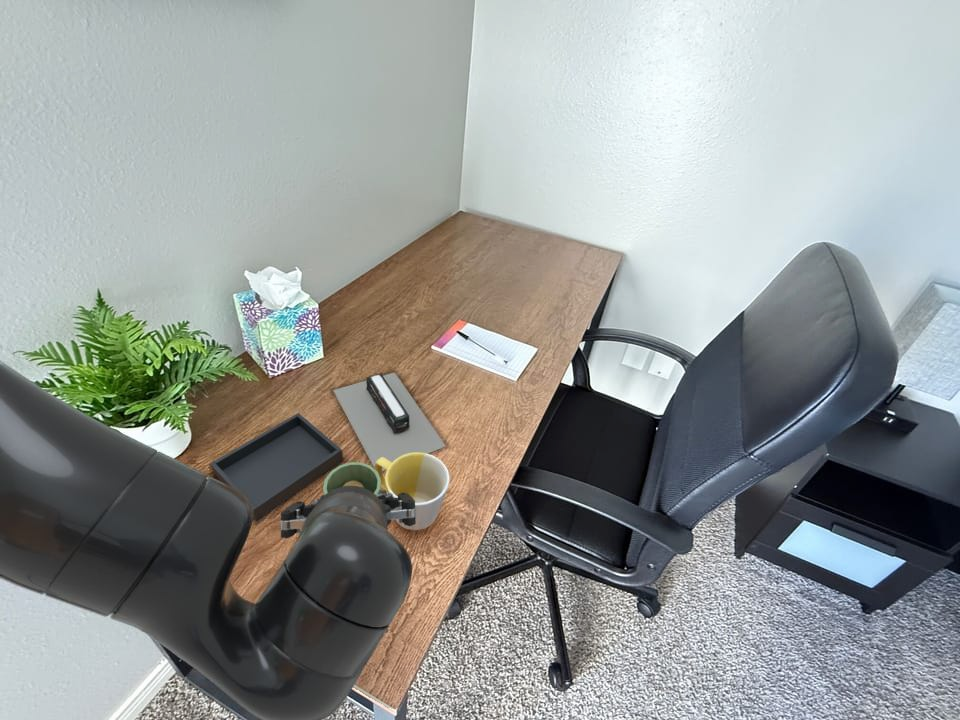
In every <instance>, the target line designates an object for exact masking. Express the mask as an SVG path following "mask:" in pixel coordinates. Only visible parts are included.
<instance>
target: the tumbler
mask: <svg viewBox="0 0 960 720" xmlns="http://www.w3.org/2000/svg"><path fill="white" fill-rule="evenodd" d="M352 480H355V481H359V482H360V483H362V484H363V486H364V488H365V489H367V490H369V491H371V492H372V493H374V494H381V490H382V488H381V478H380V476H379V474H378V472H377V471H376V470H375V468H374V466H373V465H370V464H367V463H364V462H362V461H361V462H360V461H358V462H357V461H355V462H353V461H351V462H346V463H343V464H339V465H338V466H337V467H334V469H331V470H330V471H329V472H328V474H327V476H326V477H325V478H324V481H323V487H322V493H323V494H322V495H326V494H327V493H328V492H330V491H332V490H334V489H336V488H339V487H342V486H343V485H344V484H345V483H346V482H348V481H352Z"/></svg>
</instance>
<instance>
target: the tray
mask: <svg viewBox="0 0 960 720" xmlns="http://www.w3.org/2000/svg"><path fill="white" fill-rule="evenodd" d="M343 461H344V455H343V449H342V448H341V447H339V446H338V445H337V444H336V443H335V442H334V441H333V440H331V439H330V438H329V437H328V436H326V435H325V434H324V433H323V432H322V431H321V430H320V429H318V428H317V427H316V426H314V425H313V423H311V422H310V421H309V420H308V419H307V418H305V417H304V416H303V415H302V414H301V413H299V412H297V413H296V414H294V415H292V416H290V417H288V418H287V419H285V420H283V421H282V422H279V423H278V424H276V425H274V426H273V427H271V428H269V429H267V430H266V431H264V432H262V433H260V434H259V435H257V436H255V437H253V438H252V439H250V440H248V441H246V442H245V443H243V444H241V445H240V446H237V447H236V448H234V449H232V450H230V451H229V452H227V453H225V454H224V455H222V456H220V457H218V458H217V459H215V460H213V461H211V462H210V463H209V466H210V468H211V471H212V474H213V476H214V477H215V478H216V480H218V481H220V482H223V483H225V484H226V485H228V486H230V487H232V488H234V489H236V490H237V491H239V492H240V493H242V494H243V495H245V496H246V497H247V498H248V499H249V500H250V502H251V504H252V506H253V510H254V517H253V520H255V521H256V522H258V521H259V520H260V519H262V518H263V517H265V516H266V515H267V514H269V513H270V512H271V511H273V510H275V509H276V508H277V507H279V506H280V505H282V504H283V503H285V502H286V501H288V500H289V499H290V498H292V497H293V496H294V495H296V494H297V493H299V492H300V491H302V490H303V489H304V488H306V487H307V486H309V485H310V484H312V483H313V482H315V481H316V480H317V479H319V478H321V477H322V476H323V475H325V474H326V473H328V472H330V471H331V470H333V468H336V466H337V465H340V463H342V462H343Z"/></svg>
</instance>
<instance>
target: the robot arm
mask: <svg viewBox="0 0 960 720" xmlns="http://www.w3.org/2000/svg"><path fill="white" fill-rule="evenodd" d="M207 476H208V475H207V474H206V473H204V472H202V471H200V470H198V469H197V468H194V467H192V466H190V465H187V464H186V463H184V462H182V461H180V460H178V459H176V458H173V457H172V456H170V455H167V454H166V453H164V452H162V451H158V449H156V448H154V447H151V446H149V445H147V444H145V443H143V442H141V441H139V440H137V439H135V438H133V437H131V436H130V435H129V436H128V435H127V434H124V433H123V432H120V431H119V430H118V429H115V428H113V427H111V426H109V425H107V424H106V423H104V422H102V421H100V420H98V419H96V418H94V417H92V416H90V415H88V414H87V413H85V412H83V411H82V410H80V409H78V408H76V407H75V406H72V405H71V404H69V403H67V402H65V401H64V400H62V399H60V398H58V397H57V396H55V395H53V394H52V393H50V392H48V391H47V390H46V389H44V388H43V387H41V386H39V385H38V384H36V383H35V382H33V381H32V380H30V379H29V378H28V377H26V376H24V375H23V374H22V373H20V372H18V371H17V370H15V369H14V368H13V367H11V366H10V365H8V364H6V363H5V362H4V361H2V360H1V359H0V580H3V581H4V582H7V583H9V584H11V585H14V586H16V587H19V588H21V589H24V590H27V591H30V592H33V593H35V594H38V595H42V596H43V595H44V596H45V597H47V598H50V599H53V600H55V601H59V602H62V603H64V604H67V605H70V606H73V607H75V608H78V609H81V610H84V611H86V612H89V613H93V614H95V615H98V616H101V617H104V618H107V617H109V618H110V619H111V620H113V621H116V622H119V623H122V624H125V625H127V626H130V627H132V628H134V629H137V630H138V631H140V632H143V633H144V634H145V635H147V636H149V637H150V638H151V639H153V640H154V641H155V642H157V643H159V644H160V645H162V647H164V648H165V649H167V650H169V651H170V652H171V653H172V654H174V655H175V656H176V657H178V658H180V659H181V660H182V661H183V662H185V663H186V664H187V665H189V666H191V667H192V668H193V669H195V670H196V671H198V673H200V674H201V675H202V676H204V677H205V678H206V679H208V680H209V681H210V682H212V683H213V684H214V685H215V686H216V687H218V689H220V690H221V691H222V692H224V693H225V695H227V696H228V697H230V698H231V699H232V700H233V701H234V702H235V703H236V704H238V705H239V706H240V707H241V708H243V709H244V710H246V711H247V712H248V713H250V714H251V715H253V716H254V717H255V718H257V719H259V720H324V719H326V718H328V717H329V716H331V715H333V714H334V713H335V712H337V710H338V709H339V708H340V707H341V706H342V705H343V703H344V702H345V700H346V699H347V698H348V696H349V694H350V693H351V692H352V690H353V688H354V686H355V684H356V683H357V681H358V680H359V678H360V676H361V675H362V673H363V671H364V669H365V668H366V666H367V664H368V663H369V661H370V659H371V657H372V655H373V654H374V652H375V650H376V649H377V647H378V645H379V643H381V641H382V639H383V637H384V635H385V634H386V632H387V631H388V628H389V627H390V625H391V624H392V622H393V620H394V618H395V617H396V616H397V613H398V612H399V610H400V608H401V606H402V605H403V603H404V601H405V599H406V597H407V594H408V591H409V589H410V586H411V581H412V577H413V576H412V575H413V563H412V559H411V556H410V554H409V552H408V550H407V549H406V547H405V546H404V544H403V543H402V542H401V541H400V540H399V539H398V538H397V537H396V535H394V534H393V533H392V532H390V531H389V530H388V529H389V527H388V526H390V525H391V523H392V521H396V519H399V523H404V525H408V526H412V525H414V524H416V518H415V500H414V499H413V498H412V497H411V496H410V495H409V494H408V493H405V492H403V493H401V494H398V498H394V497H393V494H392V493H387V492H386V490H383V489H381V494H374V493H372V492H371V491H369V490H367V489H365V488H363V487H359V486H343V487H339V488H336V489H334V490H332V491H330V492H328V493H327V494H326V495H324V494H322V495H321V496H320V497H319V498H314V499H312V500H310V504H307V505H306V502H305V501H302V500H298V501H296V502H293V503H292V504H290V505H289V506H288V507H286V508H285V509H284V510H282V511H281V512H280V538H282V539H290V538H291V537H293V536H294V535H296V534H299V535H298V537H297V539H296V540H295V542H294V543H293V546H292V547H291V549H290V550H289V551H288V553H287V555H286V556H285V559H284V560H283V561H282V562H281V564H280V565H279V567H278V569H277V570H276V571H275V573H274V574H273V576H272V578H271V579H270V580H269V582H268V584H267V585H266V586H265V588H264V589H263V591H262V592H261V594H260V596H258V599H257V600H256V602H252V601H250V600H247V599H246V598H244V597H243V596H241V595H240V594H239V593H238V591H237V590H236V589H235V588H234V586H233V584H232V582H231V579H232V575H233V573H234V570H235V567H236V566H237V563H238V561H239V558H240V556H241V554H242V552H243V550H244V547H245V545H246V543H247V540H248V538H249V535H250V532H251V529H252V526H253V522H254V518H253V517H254V510H253V506H252V504H251V502H250V500H249V499H248V498H247V497H246V496H245V495H243V494H242V493H240V492H239V491H237V490H236V489H234V488H232V487H230V486H228V485H226V484H225V483H223V482H220V481H219V480H218V479H217V478H214V477H212V476H208V477H207Z"/></svg>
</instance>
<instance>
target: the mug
mask: <svg viewBox="0 0 960 720" xmlns="http://www.w3.org/2000/svg"><path fill="white" fill-rule="evenodd" d="M382 468H384V469H385V475H383V471H382ZM374 469H375V470H376V471H377V472H378V474H379V476H380V478H381V490H386V493H392V494H393V497H394V498H398V494H401V493H403V492H405V493H408V494H409V495H410V496H411V497H412V498H413V499H414V500H415V518H416V524H414V525H412V526H408V525H404V523H399V519H396V520H395V522H396V523H397V524H398V525H399V526H400V527H402V528H403V529H406V530H410V531H421V530H425V529H427V528H428V527H430V526H432V524H434V522H435V521H436V520H437V519H438V516H439V513H440V511H441V507H442V505H443V502H444V500H445V498H446V495H447V492H448V489H449V486H450V480H451V479H450V472H449V470H448V467H447V466H446V465H445V463H444V462H443V461H442V460H441V459H440V458H438V457H436V455H435V456H434V455H432V454H430V453H428V454H427V453H420V452H415V453H408V454H405V455H402V456H400V457H398V458H397V459H395V460H394V461H393V462H390V461H389V460H387V459H386V458H384V457H381V458H379V459H378V460H377V461H376V463H375V468H374Z"/></svg>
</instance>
